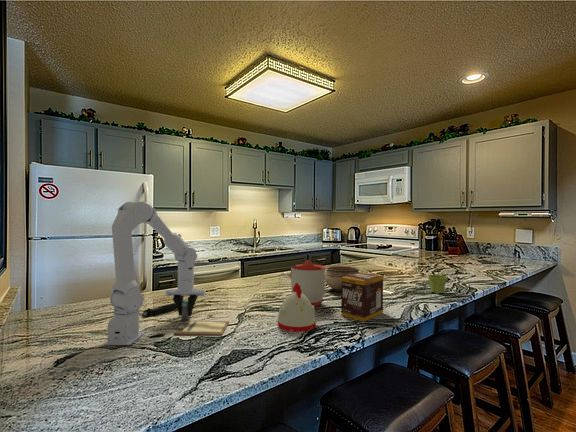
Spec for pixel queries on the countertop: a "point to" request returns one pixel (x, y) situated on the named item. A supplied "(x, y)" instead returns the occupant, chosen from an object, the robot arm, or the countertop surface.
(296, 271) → the citrus juicer
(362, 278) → the supplement box
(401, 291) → the countertop surface
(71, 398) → the countertop surface
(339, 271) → the cooking pot
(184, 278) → the robot arm
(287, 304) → the kitchen timer
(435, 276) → the plant pot
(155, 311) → the electric trimmer
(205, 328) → the clipboard
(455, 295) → the countertop surface
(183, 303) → the marker
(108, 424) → the countertop surface
